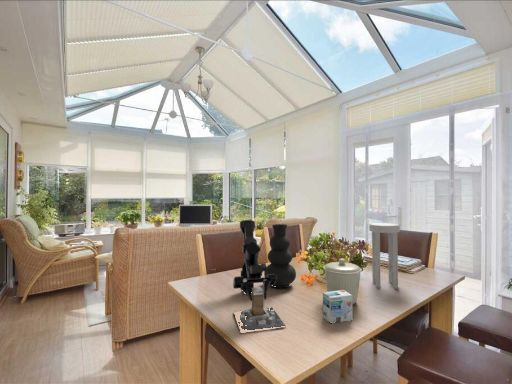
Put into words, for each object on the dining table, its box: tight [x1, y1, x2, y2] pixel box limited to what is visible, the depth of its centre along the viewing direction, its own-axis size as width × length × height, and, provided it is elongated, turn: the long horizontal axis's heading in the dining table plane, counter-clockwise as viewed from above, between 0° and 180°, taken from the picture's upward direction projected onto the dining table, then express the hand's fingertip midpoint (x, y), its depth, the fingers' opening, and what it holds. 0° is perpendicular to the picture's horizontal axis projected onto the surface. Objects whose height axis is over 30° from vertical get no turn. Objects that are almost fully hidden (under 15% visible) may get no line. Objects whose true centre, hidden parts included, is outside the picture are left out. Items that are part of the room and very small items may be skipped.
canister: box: [322, 258, 363, 306], centre depth 133 cm, size 18×18×21 cm
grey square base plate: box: [238, 306, 286, 330], centre depth 114 cm, size 18×18×4 cm
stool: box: [368, 222, 401, 290], centre depth 157 cm, size 16×16×35 cm
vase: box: [263, 223, 297, 288], centre depth 157 cm, size 18×18×35 cm
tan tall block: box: [251, 287, 264, 316], centre depth 114 cm, size 4×4×12 cm
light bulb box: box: [322, 290, 353, 324], centre depth 115 cm, size 11×7×11 cm, turn 105°
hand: (258, 300), depth 112 cm, fingers open, 6 cm apart
